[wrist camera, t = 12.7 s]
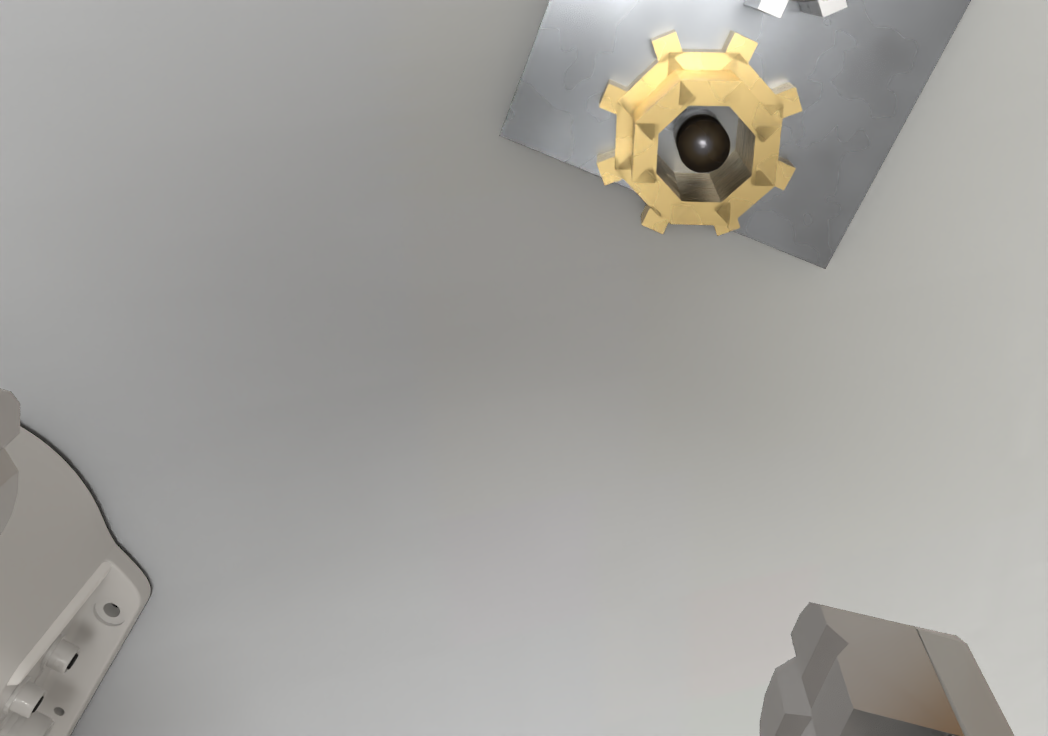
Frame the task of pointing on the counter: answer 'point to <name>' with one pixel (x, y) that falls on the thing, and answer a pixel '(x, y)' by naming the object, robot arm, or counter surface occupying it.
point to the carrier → (710, 131)
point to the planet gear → (670, 92)
